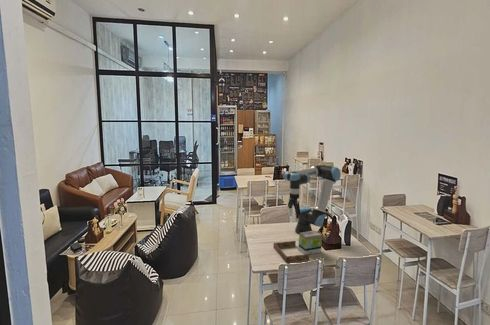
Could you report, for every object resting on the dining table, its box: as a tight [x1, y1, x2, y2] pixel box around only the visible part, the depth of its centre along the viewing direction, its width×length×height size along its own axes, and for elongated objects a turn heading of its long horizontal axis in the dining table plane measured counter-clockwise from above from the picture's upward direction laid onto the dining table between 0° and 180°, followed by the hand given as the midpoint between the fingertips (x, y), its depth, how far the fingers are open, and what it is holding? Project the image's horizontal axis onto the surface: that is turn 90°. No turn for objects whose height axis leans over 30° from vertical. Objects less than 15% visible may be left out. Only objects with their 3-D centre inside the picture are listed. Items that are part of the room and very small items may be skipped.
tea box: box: [297, 230, 323, 255], centre depth 224 cm, size 15×10×15 cm, turn 114°
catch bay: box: [273, 240, 310, 263], centre depth 221 cm, size 19×24×4 cm
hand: (293, 218), depth 229 cm, fingers open, 13 cm apart
